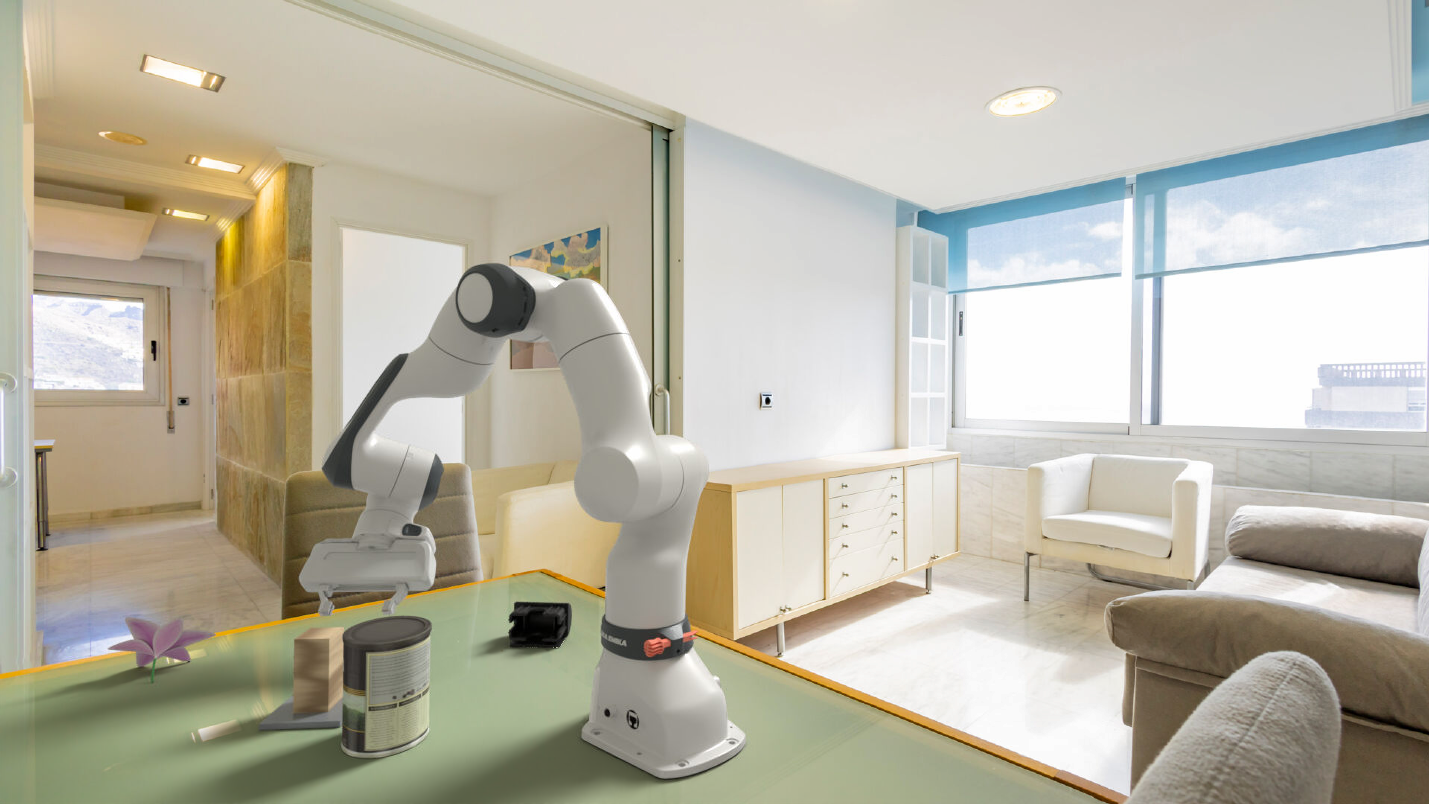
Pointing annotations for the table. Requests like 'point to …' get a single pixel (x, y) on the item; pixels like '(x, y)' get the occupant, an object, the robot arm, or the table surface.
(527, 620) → the end cap
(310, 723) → the slate coaster
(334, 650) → the oak block
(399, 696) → the coffee can
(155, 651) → the lily
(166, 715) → the table surface
